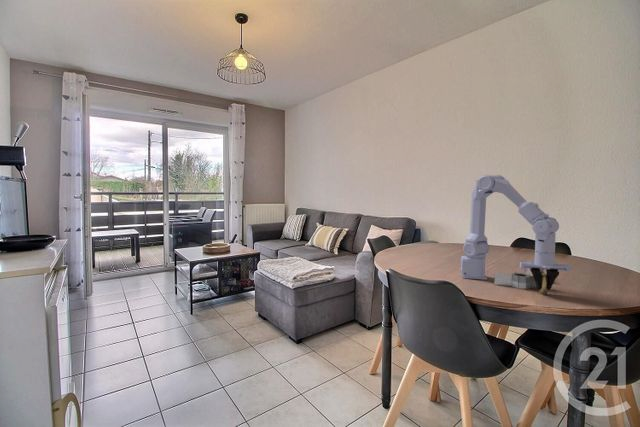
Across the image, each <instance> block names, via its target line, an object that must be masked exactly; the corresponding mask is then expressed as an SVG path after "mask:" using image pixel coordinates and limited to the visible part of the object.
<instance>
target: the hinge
mask: <svg viewBox="0 0 640 427" xmlns="http://www.w3.org/2000/svg"><path fill="white" fill-rule="evenodd" d="M493 278H494V279H493V280H494V282H493V284H494V285H495V286H509V287H512V288H516V289H522V290H528V289H531V288H532V289H537V288H536V283H535V279H534V277H533V276H532V275H527V274H523V273H522V272H513V273H501V272H494V277H493Z"/></svg>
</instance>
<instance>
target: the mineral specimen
mask: <svg viewBox="0 0 640 427" xmlns="http://www.w3.org/2000/svg"><path fill="white" fill-rule="evenodd" d="M521 271H522V272H521V273H523V274H527V275H532V276H533V274H532V272H531V270H530V268H524V269H523V268H521ZM540 272H542V274H546V272H545V269H540Z"/></svg>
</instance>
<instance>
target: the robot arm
mask: <svg viewBox="0 0 640 427" xmlns="http://www.w3.org/2000/svg"><path fill="white" fill-rule="evenodd" d="M475 181H476V184H475V186H474V187H473V190H472V192H471V202H470V204H471V206H470V207H471V208H470V222H469V223H470V224H469V225H470V226H469V235H467V237H466V238H465V242H464V244H463V247H462V251H463V253H464V254H465V255H461V256H460V275H461V278H462V279H472V280H473V279H475V280H482V281H483V280H487V281H488V278H487V276H486V256H487V254H488V253H489V251H490V245H489V243H488V237H487V235H485V229H486V228H485V227H486V211H487V209H486V208H487V207H486V206H487V198H488V197H490V196H491V195H492V194H494V193H497V194H502V195H503V196H505V197H506V198H507V199H508V200H509V201H510V202H512V203H513V204H514V205H515V206H516V207H517V208H518V213H519V214H520V215H521V216H522V217H523V218H524V219H525V220H526V221H527V222H528V223H529V224H530V225H531V227H532V228H531V229H532V231H533V232H534V234H535V239H534V241H535V242H534V243H535V244H534V261H526V262H525V261H519V268H520V269H522V268H523V269H524V268H530V270H531V272H532V274H533V277H534V279H535V283H536V288H535V289H536V290H538V291H539V290H540V289H541V275H542V272H540V269H544V270H545V271H546V272H545V274H547V275H548V291H551V289H552V286H553V284H554V282H555V281H556V279H557V278H558V276H559V275H560V271H562V272H563V271H565V272H571V265H569V264H563V263H555V260H556V258H555V256H556V234H557V232H558V230H559V229H560V224H559V222H558V220H557V219H556V218H554V217H550V215H549V213H545V212H544V211H543V210H542V209H541V208H540V205H539V204H538V203H537V202H536V203H534V202H533V201H527V200H526V199H525V198H524V197H523V196H522V195H521V194H520V193H519V191H517V189H515V187H514V186H513V185H512V184H511V182H509V180H507V179H506V178H505V177H504V176H503V175H500V174H496V175H491V174H490V175H489V174H485V175H482V176H480V177H479V178H478V179H477V180H475Z"/></svg>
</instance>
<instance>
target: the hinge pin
mask: <svg viewBox="0 0 640 427" xmlns="http://www.w3.org/2000/svg"><path fill="white" fill-rule="evenodd" d="M548 291H549V290H548V275H547V274H546V273H545V274H542V275H541V289H540V290H538V294H539V295H542V296H547V295H548Z"/></svg>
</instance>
